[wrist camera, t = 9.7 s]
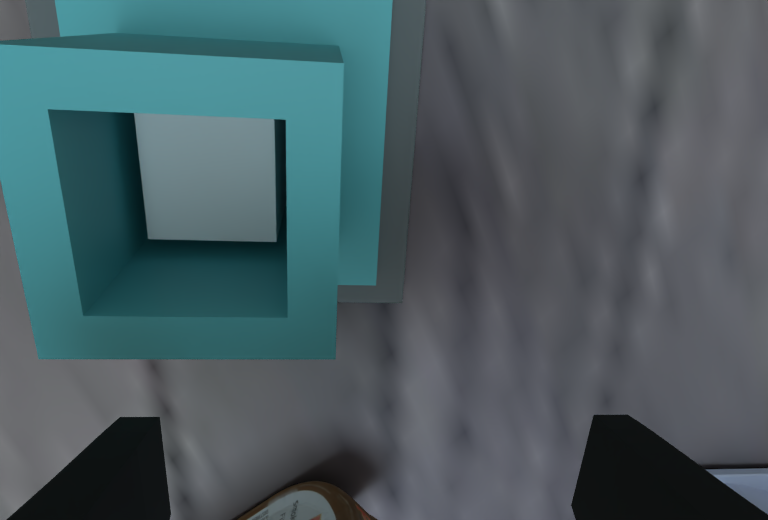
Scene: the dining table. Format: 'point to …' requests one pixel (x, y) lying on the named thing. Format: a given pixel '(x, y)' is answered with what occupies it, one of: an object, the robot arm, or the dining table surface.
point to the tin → (309, 504)
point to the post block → (269, 163)
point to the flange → (124, 184)
